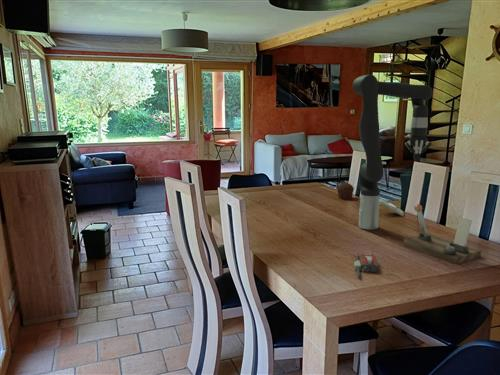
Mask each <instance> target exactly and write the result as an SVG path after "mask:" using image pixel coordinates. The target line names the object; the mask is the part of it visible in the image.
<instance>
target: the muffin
mask: <svg viewBox="0 0 500 375" xmlns="http://www.w3.org/2000/svg"><path fill="white" fill-rule="evenodd" d="M336 190H337V195H338V196H337V197H338V199H340V200H352V198H353V194H354V190H355V188H354V185H352V184H351V183H348V182H342V183H340V184H339V185H338V186H337V187H336Z"/></svg>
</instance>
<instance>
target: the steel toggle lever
mask: <svg viewBox="0 0 500 375" xmlns="http://www.w3.org/2000/svg"><path fill="white" fill-rule="evenodd" d="M413 209H414V211H415V212H416V215H417V220H418V223H419V227H420V232H421V233H422V234H423V236H425V237H426V235H428V234H429V233H428V230H427V227H426V222H425V218H424V215H423V211H422V210H423V206H422V205H421V204H419V203H417V204H415V205H414V206H413Z"/></svg>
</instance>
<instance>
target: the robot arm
mask: <svg viewBox="0 0 500 375" xmlns="http://www.w3.org/2000/svg"><path fill="white" fill-rule="evenodd" d="M352 90H353V91H354V93H355V94H357V95H358V96H362V106H363V107H362V111H361V114H360V118H359V122H358V123H359V124H358V127H359V138H360V141H361V144H362V147H363V150H364V153H365V156H366V157H365V159H366V162H364V163H363V164H362V165H361V167H360V169H359V184H358V185H359V191H360V198H359V200H360V202H359V207H358V208H359V209H358V227H359V229H361V230H362V229H363V230H369V231H371V230H377V229H378V228H379V216H380V214H379V212H380V199H381V198H380V196H381V195H380V194H381V190H380V187H379V185H378V183H379V182H380V181H381V180H383V176H384V171H385V170H384V165H383V161H382V152H381V140H380V139H381V136H380V135H381V134H380V133H381V132H380V131H381V130H380V122H379V105H378V104H379V103H378V102H379V96H380V95H381V96H387V97H394V98H400V99H410V100H411V106H412V120H411V125H410V127H411V128H410V138H408V139H409V140H408V141H407V142H404V145H405V146H406V147H407V149H408V151H409V152H410V153H413V160H414V161H415V162H419V161H420V160H421V154H424V153H426V151H427V150H428V149H429V148H430V146H432V142H430V141H428V136H427V135H428V126H429V125H428V123H429V121H428V117H429V107H428V106H427V105H425V102H424V101H428V100H429V99H431V98H432V97H433V94H434V91H433V88H432V87H431V86H429V85H426V84H411V83H407V82H396V81H378V79H377V77H376V76H375V75H373V74H364V75H360V76H358V77H357V78H355V79H354V80H353V82H352ZM424 145H425V146H424ZM412 146H413V147H412Z"/></svg>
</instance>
